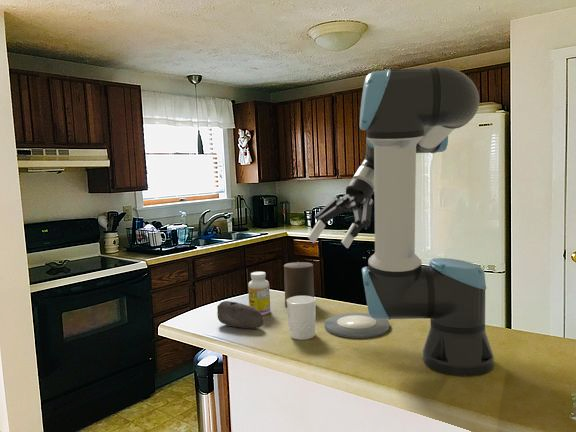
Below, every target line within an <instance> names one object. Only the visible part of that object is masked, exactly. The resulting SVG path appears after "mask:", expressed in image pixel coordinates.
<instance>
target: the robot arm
mask: <svg viewBox="0 0 576 432" xmlns="http://www.w3.org/2000/svg"><path fill="white" fill-rule="evenodd" d="M479 106H480V94H479V90H478V88H477V87H476V84H475V83H474V81H473V80H472V79H471V78H470V77H469V76H467V75H466V74H465V73H463V72H462V71H460V70H458V69H454V68H451V67H446V66H434V67H421V68H400V69H399V68H397V69H396V68H395V69H389V68H388V69H384V70H383V69H382V70H377V71H372V72H370V73H367V75H366V76H365V79H364V81H363V87H362V94H361V101H360V112H359V129H360V130H361V131H365V132H366V137H365V138H366V146H365V157H364V159H363V161H362V162H361V164H360V166H359V167H358V168H357V170H356V171H355V173H354V175H353V176H352V178H351V179H350V182H349V183H348V184H347V186H346V188H345V193H344V195H343V196H340V194H337V195H335V196H334V197H333V198H332V200H331V201H330V202H329V203H328V204H326V205H325V206H324V207H323V208H322V209H320V211H319V212H317V213H316V214H315V215H314V218H315V220H316V222H315V224H314V226H313V228H312V230H311V232H310V233H309V235H308V236H307V238H308V239H309V240H310V241H311V242H312V243H313V244H315V243H316V242H317V240H318V238H319V237H320V236H321V234H322V232H323V230H324V229H325V228H326V224H327V223H328V222H329V221H331V220H333V219H334V218H335V217H337V216H339V215H340V214H344V213H345V212H346V213H347V212H349V213H353V215H354V216H353V217H354V222H351V225H350V227H349V228H348V230H347V232H346V233H345V234H344V237H343V238H342V240H341V241H340V243H341V244H342V245H343V246H344V247H345V248H346V249H349V248H350V246H351V245H352V243H353V241H354V239H355V238H357V237H358V235H359V234H360V231H361V230H363V229H364V228H370V227H371V219H372V211H373V210H372V208H373V205H374V253H373V254H372V255H371V256H370V257H369V258H368V262H367V265H368V266H364V267H362V268H361V274H362V281H363V287H364V293H365V299H366V305H367V311H368V314H370V315H371V316H372V317H373V318H379V319H387V320H388V321H389V320H390V321H391V320H407V319H408V320H411V319H413V320H414V319H416V320H417V319H419V320H420V319H421V320H422V319H423V320H424V319H430V321H429V322H430V327H429V330H428V334H427V336H426V339H425V342H424V346H423V349H422V361H423V363H424V365H426V366H427V368H430V369H432V370H433V371H436V372H438V373H442V374H446V375H449V376H450V375H452V376H458V377H459V376H460V377H474V376H475V377H476V376H481V375H484V374H485V375H486V374H488V373H489V372H491V371H493V369H494V366H495V362H494V360H495V359H494V357H495V356H494V353H493V349H492V347H491V345H490V341H489V338H488V335H487V333H486V290H487V286H486V284H487V283H486V273H485V270H484V269H483V268H482V267H481V266H480V265H478V264H476V263H473V262H469V261H465V260H461V259H456V258H454V259H453V258H446V257H439V258H431V259H430V261H429V262H428V265H427V266H423V263H422V258H420V257H419V256H418V255H417V254H416V252H415V247H416V246H415V245H416V242H415V241H416V233H415V232H416V187H417V185H416V183H417V182H416V175H417V174H416V171H417V170H416V169H417V168H416V167H417V166H416V165H417V164H416V163H417V154H436V153H443V152H445V151H446V150H447V149H448V147H447V146H448V144H449V135H450V134H451V133H452V132H453V131H455V130H456V129H460V128H462V127H464V126H465V125H467V124H468V123H469V122H470V121H472V120H473V118H474V117H475V116H476V114H477V112H478V109H479ZM373 194H374V199H372V196H373ZM362 207H363V208H362Z"/></svg>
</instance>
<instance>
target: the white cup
mask: <svg viewBox="0 0 576 432" xmlns="http://www.w3.org/2000/svg"><path fill="white" fill-rule="evenodd" d="M316 305H317V299H316V298H315V296H314V297H311V296H294V297H290V298H288V299H287V307H286V310H287V319H288V327H289V337H291V339H295V340H299V341H302V340H311V339H312V338H314V337H315V335H316V317H317V316H316V311H317V309H316V308H317V307H316Z"/></svg>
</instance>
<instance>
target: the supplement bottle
mask: <svg viewBox="0 0 576 432" xmlns="http://www.w3.org/2000/svg"><path fill="white" fill-rule="evenodd" d="M266 277H267V274H266V272H265V271H253V272H250V278H251V280H250V281H249V282H248V285H247V286H248V287H247V289H248V306H250V307H253V308H255V309H256V310H258V311H259V312H260V313H261V315H262V316H266V315H268V314H270V312H271V298H270V296H271V295H270V292H271V291H270V283H269V281H268V280H267V279H266Z"/></svg>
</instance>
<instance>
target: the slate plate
mask: <svg viewBox="0 0 576 432" xmlns="http://www.w3.org/2000/svg"><path fill="white" fill-rule="evenodd" d="M324 329H325V330H326V332H327V333H329V334H331V335H334V336H335V337H336V336H337V337H341V338H347V339H368V338H375V337H379V336H382V335H384V334H386V333H387V332H388V331H389V330H390V321H389V320H388V319H379V318H373V317H372V316H371V315H370V314H369V312H368V313H367V312H347V313H346V312H344V313H340V314H336V315H332V316H329V317H328V318H327V319H326V320H325V321H324Z"/></svg>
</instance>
